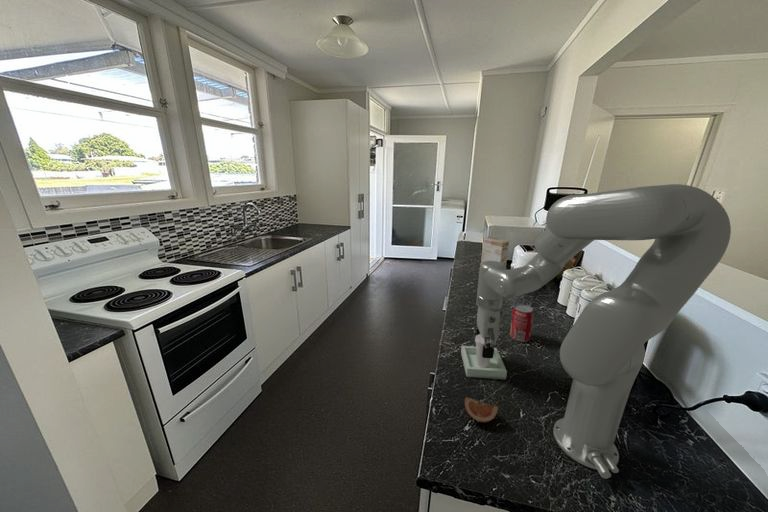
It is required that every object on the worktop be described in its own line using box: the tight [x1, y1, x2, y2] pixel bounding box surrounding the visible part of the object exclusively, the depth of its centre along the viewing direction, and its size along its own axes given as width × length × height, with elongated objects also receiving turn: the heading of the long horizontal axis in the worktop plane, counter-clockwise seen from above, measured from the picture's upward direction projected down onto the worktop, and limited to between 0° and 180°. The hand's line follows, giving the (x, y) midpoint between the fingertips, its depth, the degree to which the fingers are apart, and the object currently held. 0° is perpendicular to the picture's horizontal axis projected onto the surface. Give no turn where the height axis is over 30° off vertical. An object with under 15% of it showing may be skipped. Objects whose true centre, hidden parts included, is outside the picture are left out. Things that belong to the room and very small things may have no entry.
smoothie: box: [474, 334, 497, 368], centre depth 89 cm, size 6×6×14 cm
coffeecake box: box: [480, 236, 510, 267], centre depth 184 cm, size 15×7×20 cm, turn 32°
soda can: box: [509, 303, 535, 343], centre depth 105 cm, size 7×7×13 cm
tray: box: [460, 345, 508, 380], centre depth 92 cm, size 12×12×3 cm
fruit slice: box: [463, 396, 499, 423], centre depth 72 cm, size 8×7×5 cm
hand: (483, 347), depth 90 cm, fingers open, 9 cm apart
